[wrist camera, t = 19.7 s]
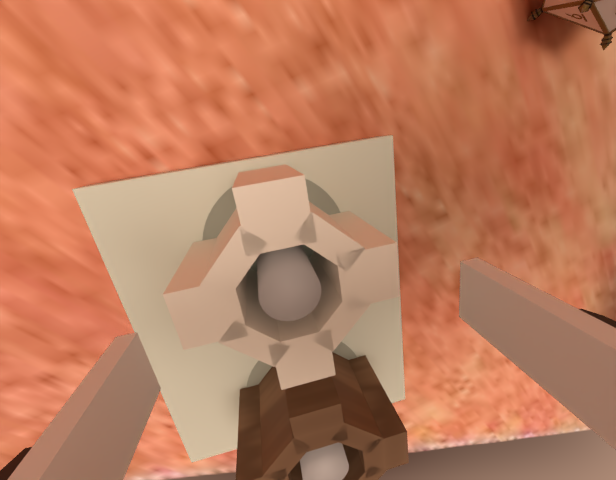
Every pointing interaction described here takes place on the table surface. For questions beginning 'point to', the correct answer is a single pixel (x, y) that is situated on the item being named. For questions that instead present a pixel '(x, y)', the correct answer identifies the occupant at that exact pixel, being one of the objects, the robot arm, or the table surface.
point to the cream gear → (244, 282)
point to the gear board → (269, 266)
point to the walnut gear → (319, 424)
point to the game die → (584, 14)
